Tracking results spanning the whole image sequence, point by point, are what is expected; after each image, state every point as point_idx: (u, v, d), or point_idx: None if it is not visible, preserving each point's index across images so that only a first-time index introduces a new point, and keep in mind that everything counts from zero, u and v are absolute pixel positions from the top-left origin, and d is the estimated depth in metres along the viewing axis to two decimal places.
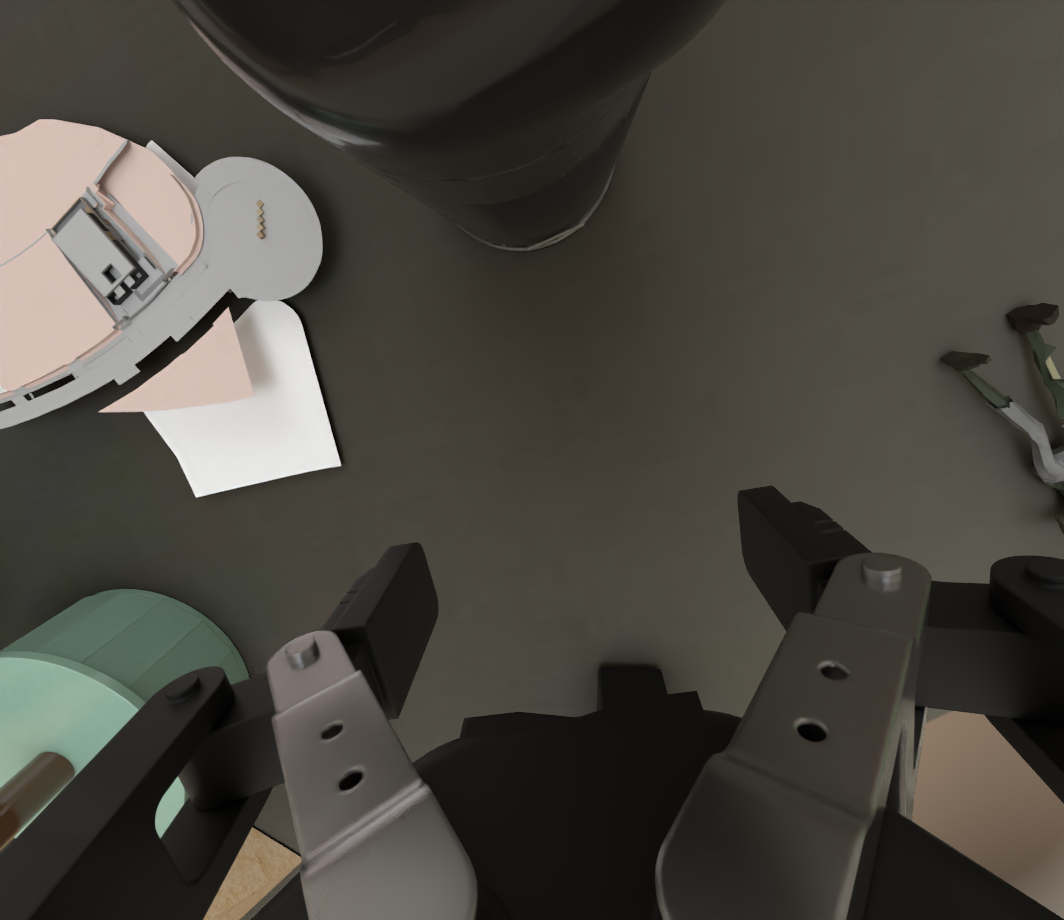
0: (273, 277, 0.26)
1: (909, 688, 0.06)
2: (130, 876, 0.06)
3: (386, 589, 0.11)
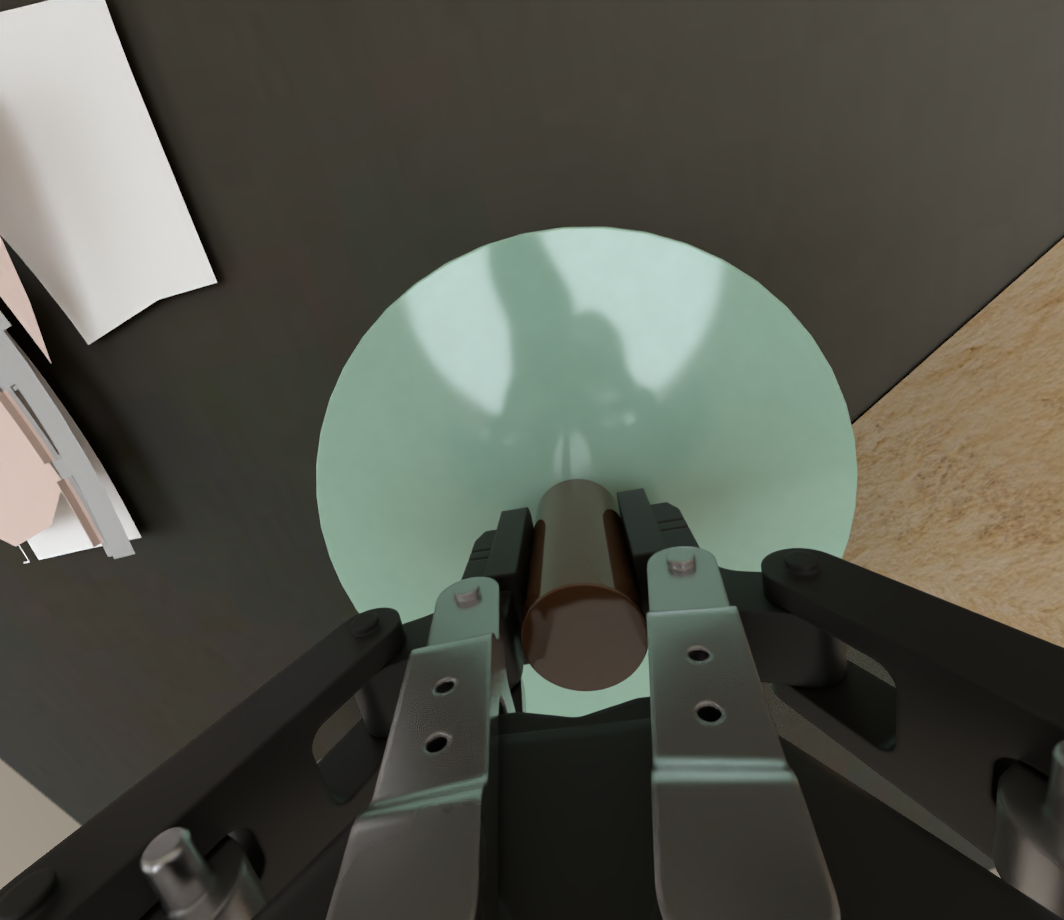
0: None
1: None
2: (284, 787, 0.07)
3: (519, 544, 0.11)
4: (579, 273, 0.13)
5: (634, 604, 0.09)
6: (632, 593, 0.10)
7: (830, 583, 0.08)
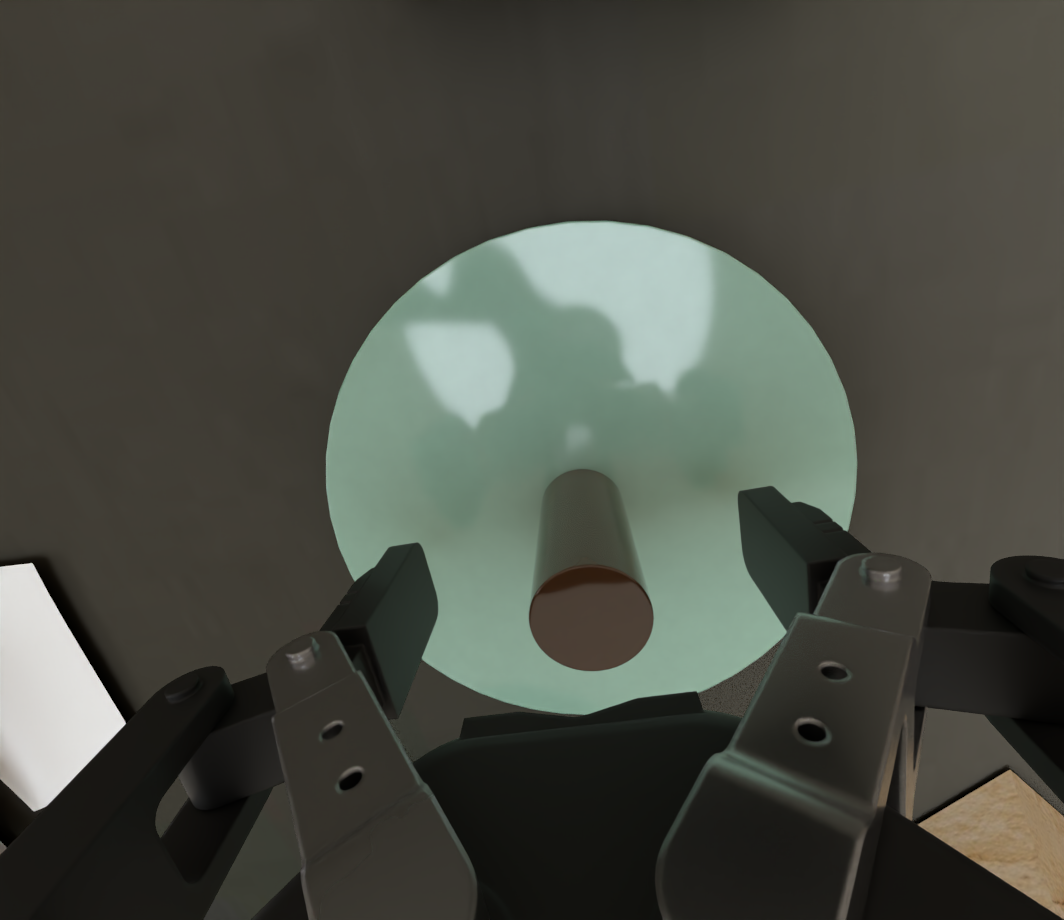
0: None
1: (909, 688, 0.06)
2: (130, 876, 0.06)
3: (386, 589, 0.11)
4: (583, 267, 0.13)
5: (640, 585, 0.10)
6: (637, 575, 0.10)
7: None
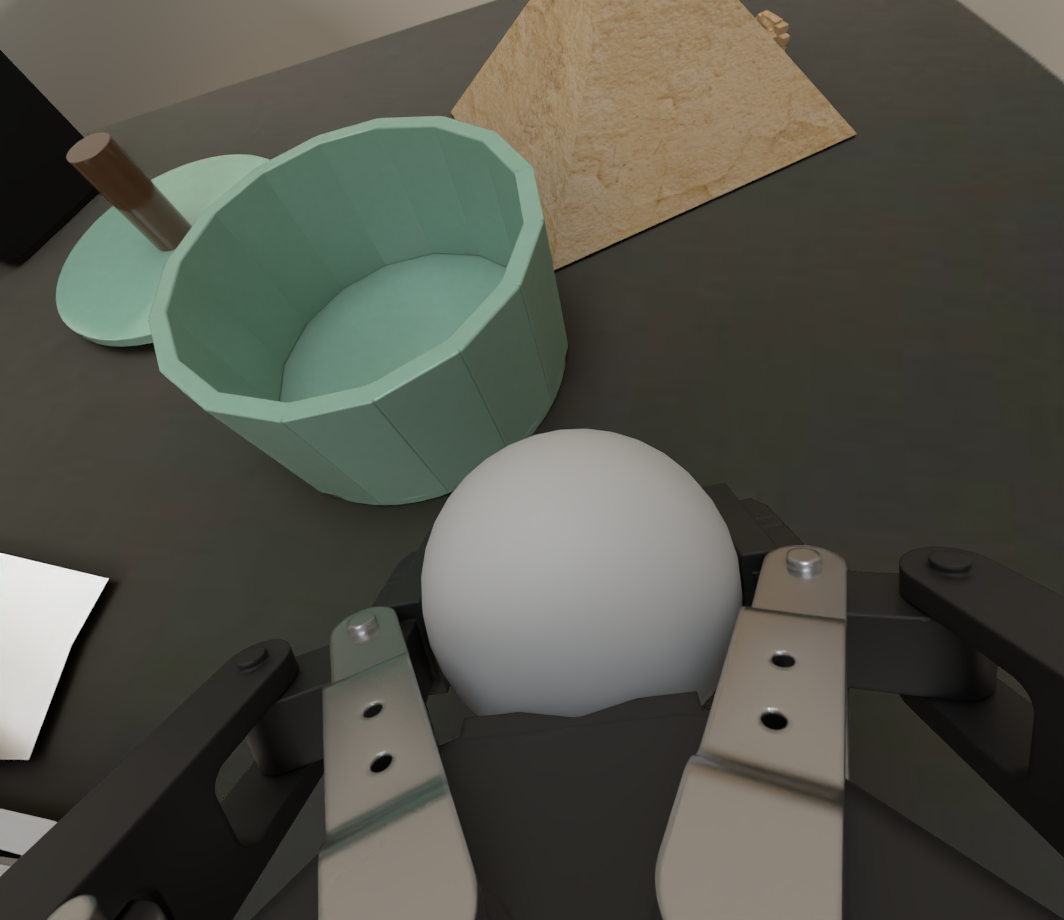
0: None
1: None
2: (189, 836, 0.07)
3: None
4: (108, 220, 0.33)
5: None
6: None
7: (992, 586, 0.07)
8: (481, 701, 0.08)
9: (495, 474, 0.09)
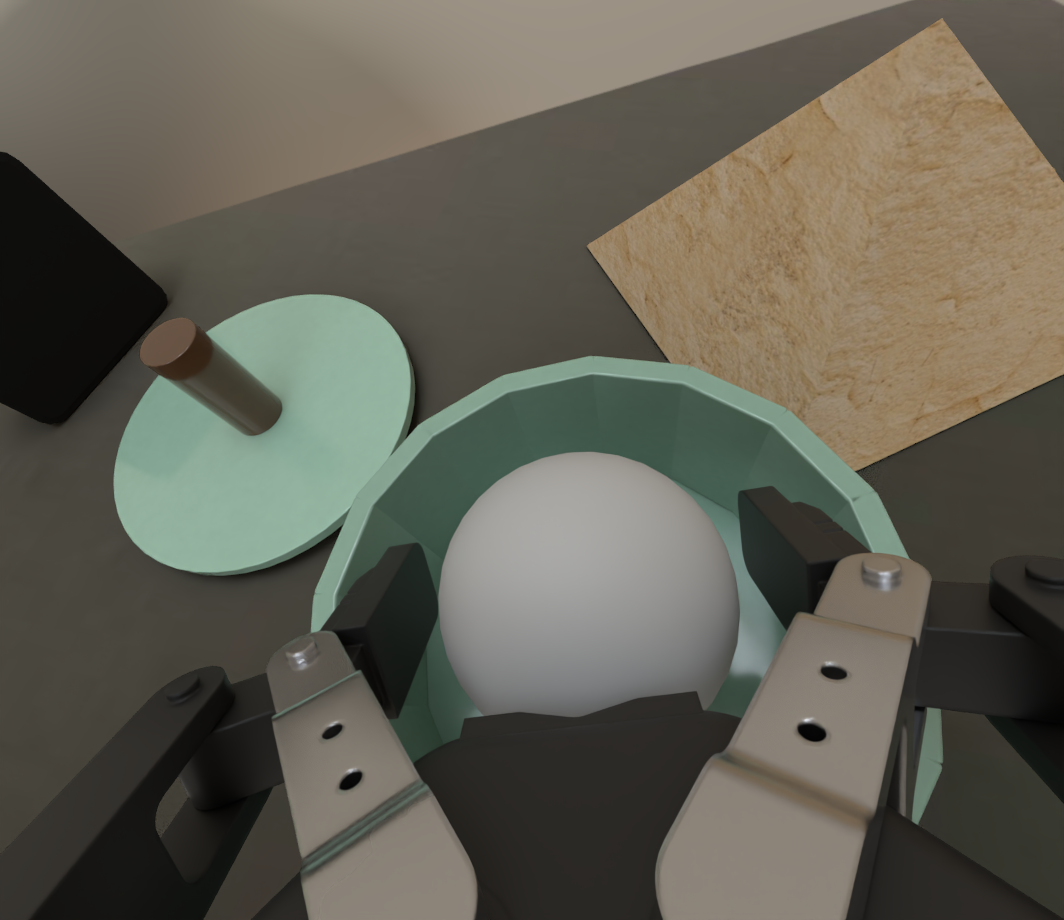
0: None
1: (909, 688, 0.06)
2: (130, 876, 0.06)
3: (386, 589, 0.11)
4: None
5: None
6: None
7: None
8: (497, 710, 0.09)
9: (508, 498, 0.09)
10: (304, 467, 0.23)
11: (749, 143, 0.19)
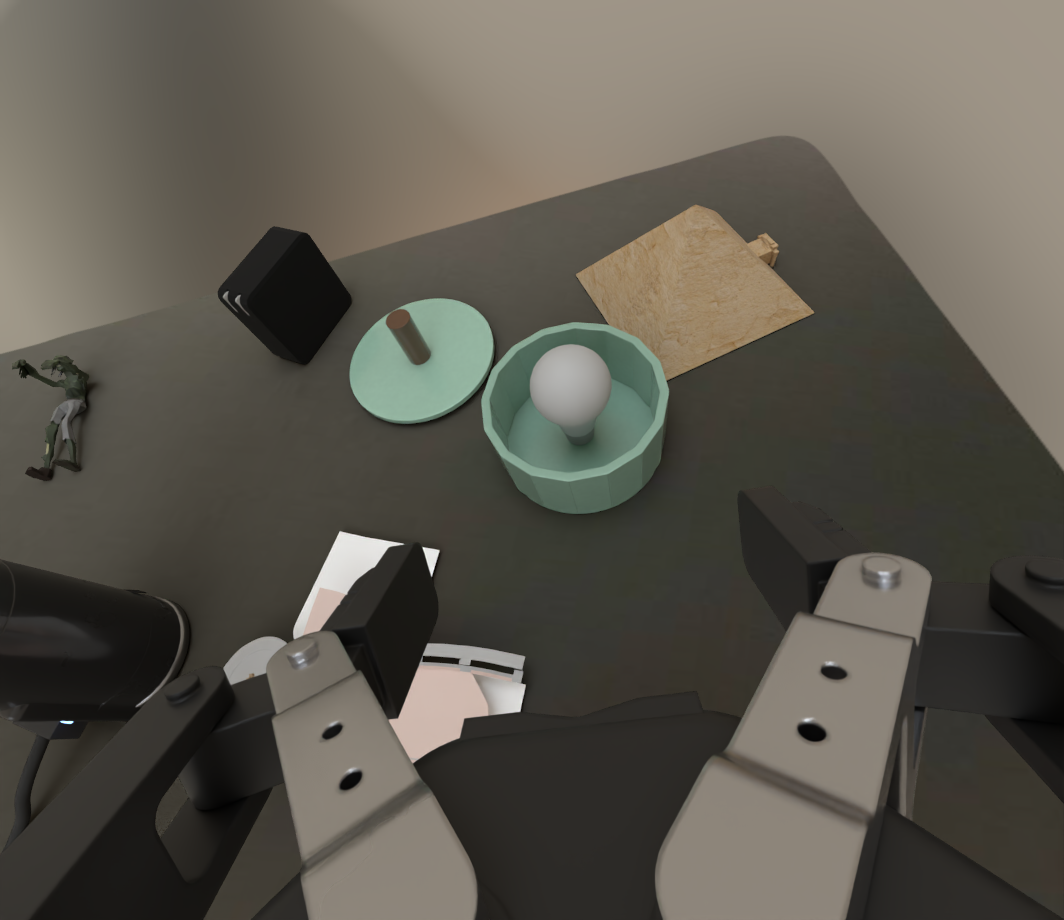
0: (269, 651, 0.40)
1: (909, 688, 0.06)
2: (130, 876, 0.06)
3: (386, 589, 0.11)
4: (369, 340, 0.54)
5: (396, 309, 0.48)
6: None
7: None
8: (548, 401, 0.36)
9: (550, 352, 0.37)
10: (446, 377, 0.50)
11: (641, 237, 0.47)
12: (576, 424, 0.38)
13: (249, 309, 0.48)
